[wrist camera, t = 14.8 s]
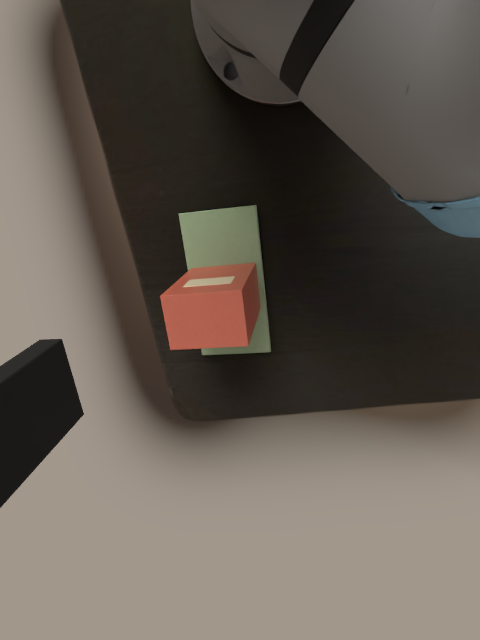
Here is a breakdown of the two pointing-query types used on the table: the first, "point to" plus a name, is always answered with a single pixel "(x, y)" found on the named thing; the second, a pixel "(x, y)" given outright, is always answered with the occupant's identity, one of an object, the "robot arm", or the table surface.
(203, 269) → the packet
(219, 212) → the mat
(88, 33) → the table surface
